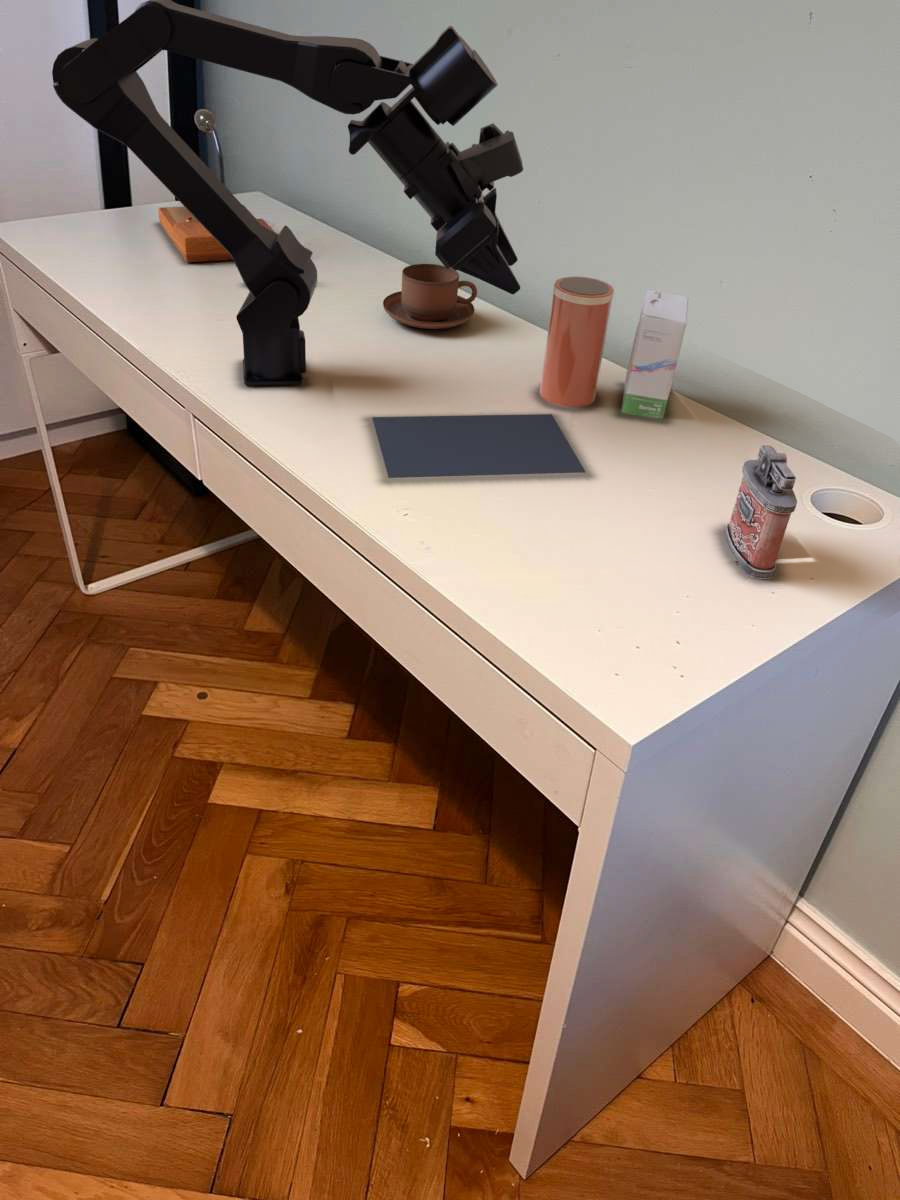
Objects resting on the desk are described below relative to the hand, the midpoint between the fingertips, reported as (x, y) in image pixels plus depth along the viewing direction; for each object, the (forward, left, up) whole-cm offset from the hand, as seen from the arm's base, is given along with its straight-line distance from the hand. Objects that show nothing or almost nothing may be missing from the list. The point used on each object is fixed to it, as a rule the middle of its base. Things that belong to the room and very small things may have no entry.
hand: (515, 276), depth 106 cm
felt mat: (-6, -13, -13) cm, 20 cm away
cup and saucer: (-5, +22, -14) cm, 27 cm away
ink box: (+16, -3, -14) cm, 21 cm away
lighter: (+15, -35, -14) cm, 40 cm away
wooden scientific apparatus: (-31, +49, -14) cm, 60 cm away
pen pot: (+7, -2, -13) cm, 15 cm away
